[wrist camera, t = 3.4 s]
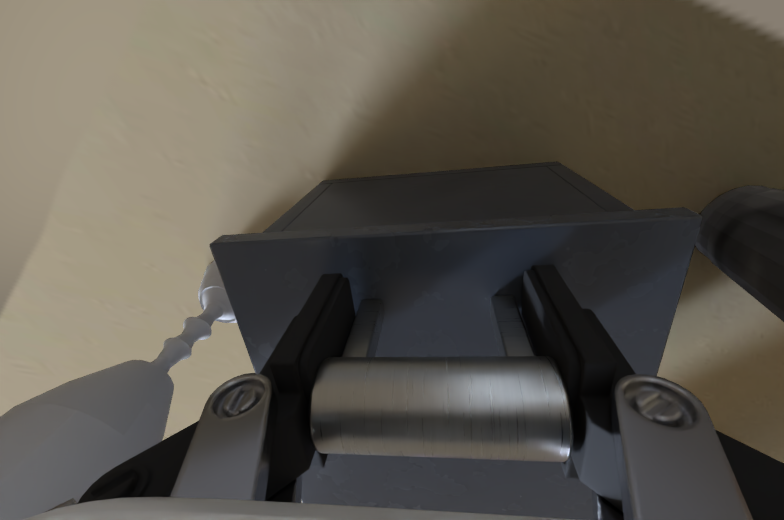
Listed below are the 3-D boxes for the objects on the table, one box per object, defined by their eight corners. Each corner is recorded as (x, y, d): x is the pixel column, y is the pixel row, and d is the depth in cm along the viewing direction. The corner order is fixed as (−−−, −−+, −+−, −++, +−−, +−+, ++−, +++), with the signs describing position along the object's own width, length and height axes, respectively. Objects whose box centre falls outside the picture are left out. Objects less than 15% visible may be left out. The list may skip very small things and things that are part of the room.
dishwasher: (322, 180, 22) (230, 258, 12) (558, 161, 20) (676, 236, 10) (361, 382, 29) (323, 532, 19) (536, 383, 27) (592, 551, 17)
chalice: (212, 329, 28) (-80, 650, 12) (173, 253, 25) (-273, 542, 9) (296, 320, 27) (91, 668, 11) (265, 239, 24) (-74, 549, 8)
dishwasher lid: (221, 234, 12) (60, 346, 7) (685, 206, 10) (954, 337, 5) (323, 533, 19) (284, 689, 14) (592, 552, 17) (656, 741, 12)
